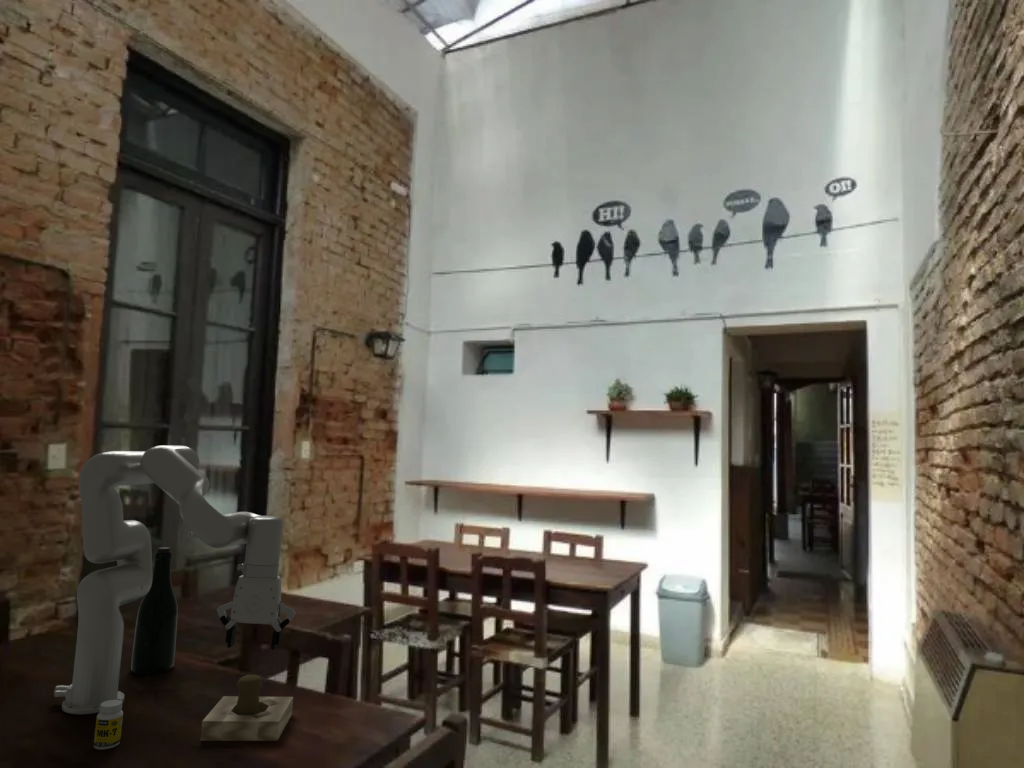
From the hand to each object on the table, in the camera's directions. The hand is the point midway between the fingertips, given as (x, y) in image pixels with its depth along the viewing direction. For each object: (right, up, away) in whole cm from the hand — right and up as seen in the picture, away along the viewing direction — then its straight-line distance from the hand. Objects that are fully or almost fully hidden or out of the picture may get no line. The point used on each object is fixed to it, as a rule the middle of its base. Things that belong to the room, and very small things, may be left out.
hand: (252, 646), depth 150 cm
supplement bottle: (-25, -15, -13) cm, 32 cm away
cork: (-1, -18, -2) cm, 18 cm away
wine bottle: (-40, -19, +31) cm, 54 cm away
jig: (0, -17, -2) cm, 17 cm away
